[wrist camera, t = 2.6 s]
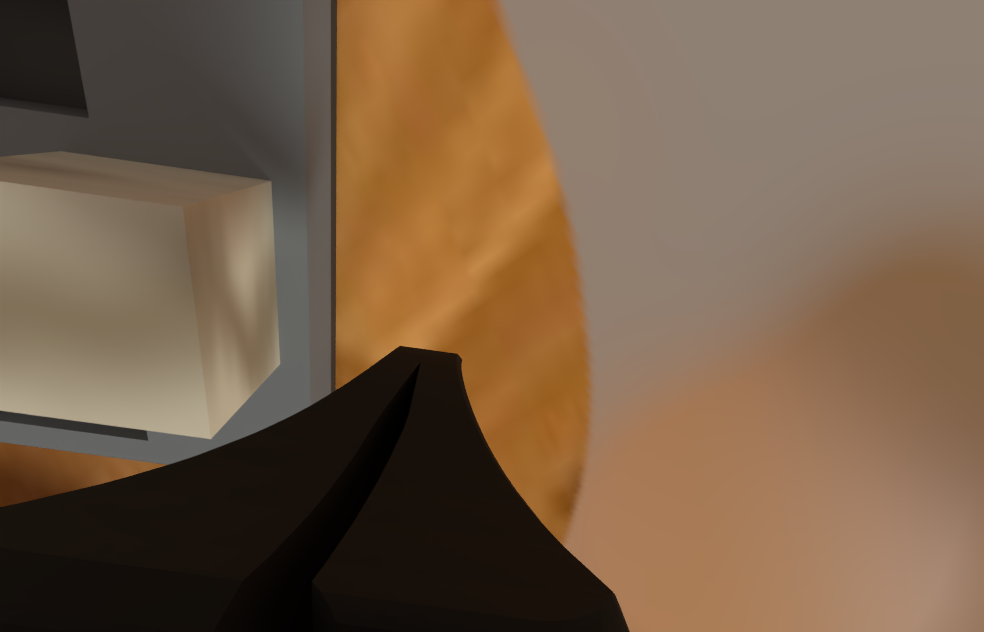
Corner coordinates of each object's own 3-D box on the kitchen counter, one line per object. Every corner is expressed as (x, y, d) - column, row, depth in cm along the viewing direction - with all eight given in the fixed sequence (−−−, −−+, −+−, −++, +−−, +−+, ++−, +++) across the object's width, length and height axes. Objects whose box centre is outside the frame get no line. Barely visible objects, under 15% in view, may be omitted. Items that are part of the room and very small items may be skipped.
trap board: (335, 442, 20) (289, 526, 16) (-93, 383, 20) (-249, 454, 16) (336, -1, 14) (262, -46, 10) (-284, -91, 14) (-619, -174, 10)
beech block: (280, 364, 16) (210, 439, 13) (100, 339, 16) (-23, 407, 12) (271, 180, 14) (183, 207, 10) (61, 151, 14) (-105, 167, 10)
